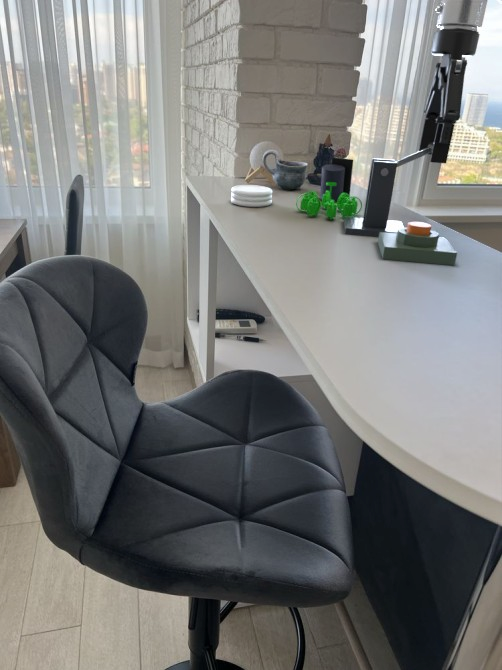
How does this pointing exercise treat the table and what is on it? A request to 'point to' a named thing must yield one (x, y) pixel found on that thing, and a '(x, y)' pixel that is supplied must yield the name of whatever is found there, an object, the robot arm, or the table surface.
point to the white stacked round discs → (251, 195)
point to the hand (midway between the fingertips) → (431, 158)
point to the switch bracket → (376, 202)
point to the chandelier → (329, 204)
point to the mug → (286, 172)
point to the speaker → (337, 177)
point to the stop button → (418, 228)
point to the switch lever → (415, 155)
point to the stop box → (416, 247)
